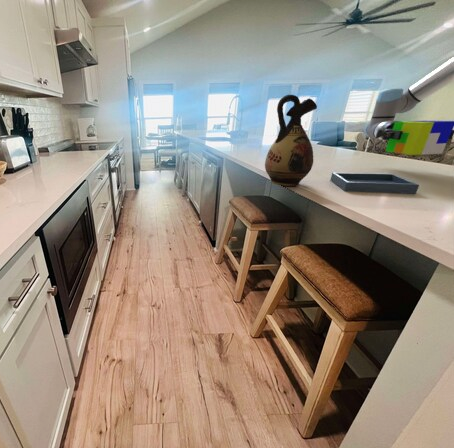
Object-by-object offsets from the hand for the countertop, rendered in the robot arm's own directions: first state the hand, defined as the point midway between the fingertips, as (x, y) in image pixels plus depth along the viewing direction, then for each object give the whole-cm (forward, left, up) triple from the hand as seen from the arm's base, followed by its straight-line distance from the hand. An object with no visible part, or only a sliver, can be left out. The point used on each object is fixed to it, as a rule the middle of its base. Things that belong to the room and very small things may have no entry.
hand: (425, 135), depth 79 cm
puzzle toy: (0, -3, -6) cm, 7 cm away
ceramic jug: (+41, +8, -16) cm, 45 cm away
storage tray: (+14, +8, -16) cm, 23 cm away
